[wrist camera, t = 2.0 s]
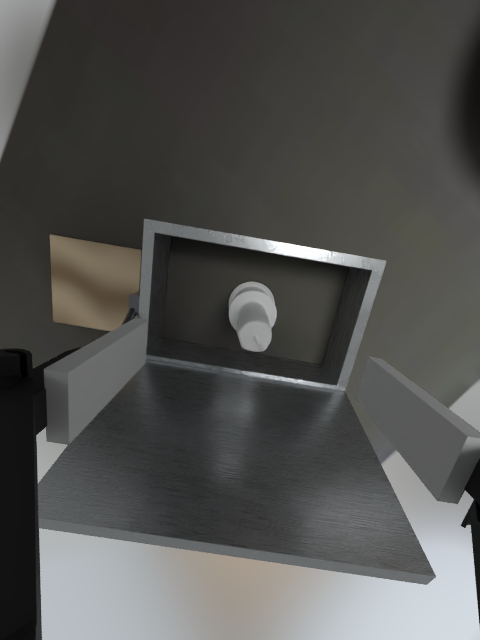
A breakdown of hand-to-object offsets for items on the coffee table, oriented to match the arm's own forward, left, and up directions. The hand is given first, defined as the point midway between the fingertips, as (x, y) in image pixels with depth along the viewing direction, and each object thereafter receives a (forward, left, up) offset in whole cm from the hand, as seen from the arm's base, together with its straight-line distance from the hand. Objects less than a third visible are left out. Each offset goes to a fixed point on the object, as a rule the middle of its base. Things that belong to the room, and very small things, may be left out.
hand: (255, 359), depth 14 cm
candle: (0, 0, -15) cm, 15 cm away
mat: (+1, -18, -15) cm, 23 cm away
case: (+1, 0, -15) cm, 15 cm away
